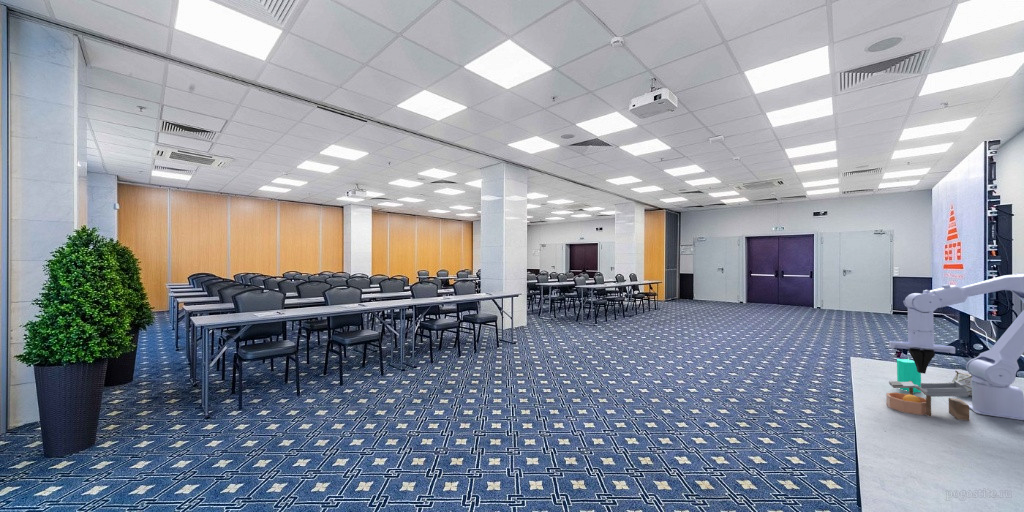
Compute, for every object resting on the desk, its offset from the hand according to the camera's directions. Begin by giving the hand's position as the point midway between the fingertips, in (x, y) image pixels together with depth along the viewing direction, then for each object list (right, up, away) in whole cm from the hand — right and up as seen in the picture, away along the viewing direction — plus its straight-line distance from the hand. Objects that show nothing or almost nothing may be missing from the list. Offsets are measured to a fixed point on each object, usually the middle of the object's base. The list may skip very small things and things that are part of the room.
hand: (921, 372), depth 122 cm
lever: (-2, -5, -3) cm, 6 cm away
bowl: (-8, -10, -3) cm, 13 cm away
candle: (+11, -11, +14) cm, 21 cm away
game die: (+25, -11, +8) cm, 28 cm away
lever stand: (+1, -10, -4) cm, 11 cm away
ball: (-7, -8, -4) cm, 11 cm away
